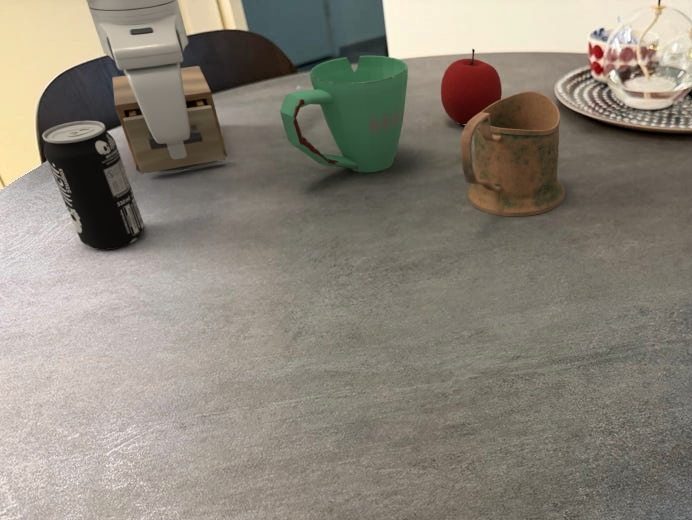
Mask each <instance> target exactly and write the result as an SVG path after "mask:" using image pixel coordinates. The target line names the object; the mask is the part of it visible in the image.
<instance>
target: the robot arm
mask: <svg viewBox="0 0 692 520" xmlns="http://www.w3.org/2000/svg"><path fill="white" fill-rule="evenodd" d="M86 3H87V7H88V9H89V12H90V16H91V18H92V21H93V25H94V28H95V30H96V34H97V37H98V40H99V43H100V45H101V48H102V49H101V50H102V52H103V53H104V54H105V55H106V56H107V57H110V58H111V59H112V60H113V61H114V64H115V66H116V67H117V69H118V70H119V71H123V73H124V76H126V77H127V79H128V81H129V84H130V86H131V88H132V91H133V93H134V95H135V98H136V100H137V102H138V105H139V107H140V109H141V112H142V114H143V116H144V119H145V121H146V123H147V126H148V128H149V130H150V132H151V134H152V136H153V138H154V139H155V141H156V142H157V143H159V144H164V143H166V144H167V146H168V149H169V152H170V156H171V158H172V159H182V158H185V157H186V155H187V154H186V150H185V147H184V143H183V140H187V139H189V137H190V127H189V119H188V113H187V107H186V101H185V95H184V89H183V83H182V76H181V68H182V66H181V63H183V62H184V52H185V49H186V47H187V46H188V45H189V38H188V33H187V30H186V27H185V23H184V19H183V15H182V11H181V8H180V4H179V0H86Z"/></svg>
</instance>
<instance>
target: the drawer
mask: <svg viewBox="0 0 692 520" xmlns="http://www.w3.org/2000/svg"><path fill="white" fill-rule="evenodd" d="M186 107H187V113H188V119H189V127H190V137H189V139H187V140H183V143H184V147H185V150H186V154H187V155H186V157H185V158H182V159H172V158H171V156H170V152H169V149H168V146H167V144H166V143H164V144H159V143H157V142H156V141H155V139H154V138H153V136H152V134H151V132H150V130H149V128H148V126H147V123H146V121H145V119H144V116H143V114H142V112H141V109H140V108H138V109H131V110H129V116H130V117H126V118H123V120H124V124H125V127H126V130H127V133H128V136H129V139H130V142H131V145H132V147H133V150H134V153H135V156H136V159H137V162H138V165H139V168H140V171H139V172H140V174H141V175H142V174H149V173H154V172H159V171H165V170H170V169H178V168H182V167H183V168H184V167H189V166H194V165H200V164H205V163H212V162H217V161H218V162H219V161H223V160H225V159H226V158H225V156H224V154H223V150H222V146H221V142H220V138H219V134H218V130H217V126H216V123H215V119H214V115H213V111H212V107H211V105H206V106H204V103H203V101H202V99H199V100H192V101H186Z"/></svg>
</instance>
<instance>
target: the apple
mask: <svg viewBox="0 0 692 520" xmlns="http://www.w3.org/2000/svg"><path fill="white" fill-rule="evenodd" d="M471 51H472V52H471V55H472V57H471V58H461V59H457V60H455V61H453V62H452V63H451V64H449V66H447V68H446V69H445V71H444V73H443V76H442V79H441V83H440V84H441V85H440V99H441V103H442V107H443V109H444V111H445V113H446V114H447V116H448V117H449V118H450V119H451V120H452V121H454V122H455V123H457V124H458V123H459V124H458V125H460V124H467V123H468V122H469V121H470V120H471V119H472V118H473V117H474V116H475V115H477V114H478V113H480V112H482V111H483V110H484V109H485V108H487V107H488V106H490V105H491V104H493V103H495V102H497V101H499V100H501V99H502V94H503V92H502V91H503V90H502V89H503V87H502V82H501V77H500V75H499V73H498V71H497V69H496V68H495V67H494V66H492V65H491V64H489V63H487V62H485V61H482V60H480V59H476V58H475V49H474V48H471Z"/></svg>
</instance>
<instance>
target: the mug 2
mask: <svg viewBox="0 0 692 520" xmlns="http://www.w3.org/2000/svg"><path fill="white" fill-rule="evenodd" d="M560 119H561V113H560V110H559V107H558V106H557V104H556V103H555V102H554V101H553V100H552V99H551V98H550V97H549V96H547V95H546V94H544V93H541V92H539V91H534V90H527V91H521V92H518V93H515V94H511V95H509V96H506V97H504V98H501V100H499V101H497V102H495V103H493V104H491V105H490V106H488V107H487V108H485V109H484V110H483V111H482V112H480V113H478V114H477V115H475V116H474V117H473V118H472V119H471V120H470V121H469V122H468V123H467V124H466V125H464V128H463V130H462V133H461V137H460V159H461V160H460V161H461V167H462V172H463V175H464V177H465V180H466V181H467V182H468V183H470V186H469V187H468V188H467V199H468V202H469V203H470V204H471V205H472V206H473V207H475V208H476V209H478V210H480V211H482V212H485V213H487V214H492V215H495V216H503V217H527V216H534V215H539V214H543V213H546V212H549V211H551V210H553V209H555V208H557V207H558V206H560V204H562V203H563V201H564V200H565V193H566V190H565V187H564V186H563V185H562V183H561V181H559V179H558V169H559V155H560V154H559V145H560V124H561V123H560V122H561V120H560ZM472 143H473V145H472ZM472 146H474V148H473V149H474V157H473V155H472V152H473V151H472ZM473 161H474V165H473Z"/></svg>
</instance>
